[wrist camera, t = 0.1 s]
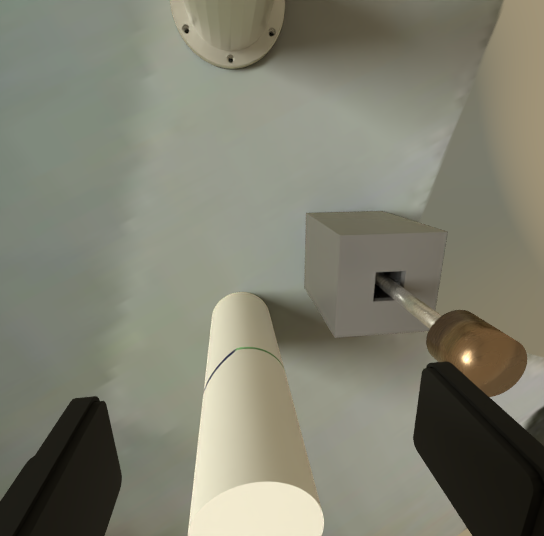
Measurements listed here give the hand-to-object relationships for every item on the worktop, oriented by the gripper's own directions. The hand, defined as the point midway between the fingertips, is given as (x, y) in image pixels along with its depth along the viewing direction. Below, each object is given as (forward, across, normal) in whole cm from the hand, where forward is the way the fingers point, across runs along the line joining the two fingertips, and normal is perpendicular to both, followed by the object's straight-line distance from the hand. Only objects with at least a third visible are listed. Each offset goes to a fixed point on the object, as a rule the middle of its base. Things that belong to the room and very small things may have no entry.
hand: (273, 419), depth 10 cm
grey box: (+37, -15, +5) cm, 40 cm away
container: (+37, 0, +15) cm, 40 cm away
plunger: (+28, -15, +5) cm, 32 cm away
